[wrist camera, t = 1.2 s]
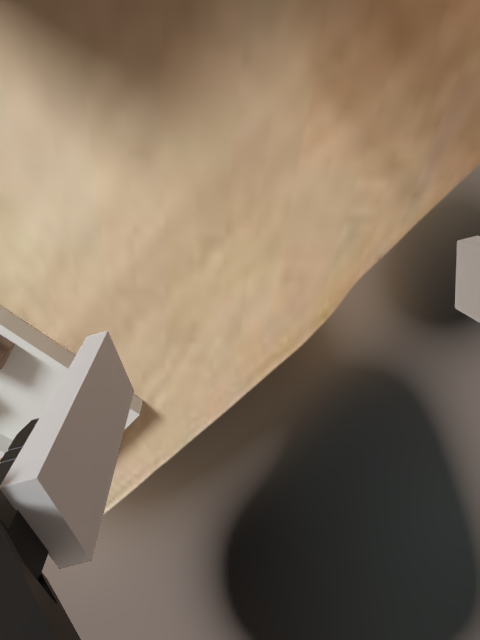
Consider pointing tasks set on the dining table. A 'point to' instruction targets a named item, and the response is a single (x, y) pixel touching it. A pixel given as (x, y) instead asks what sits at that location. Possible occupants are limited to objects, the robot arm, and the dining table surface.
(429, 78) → the dining table surface
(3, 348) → the walnut block
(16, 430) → the tray
